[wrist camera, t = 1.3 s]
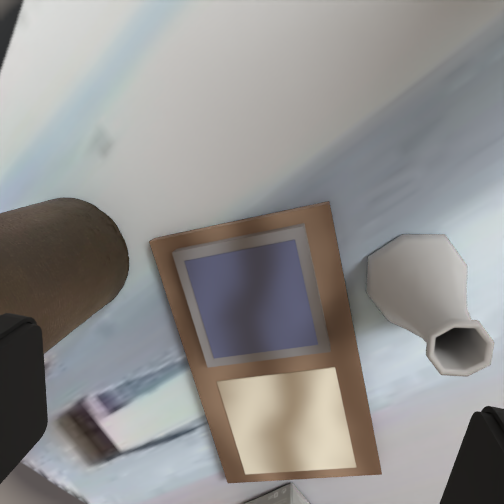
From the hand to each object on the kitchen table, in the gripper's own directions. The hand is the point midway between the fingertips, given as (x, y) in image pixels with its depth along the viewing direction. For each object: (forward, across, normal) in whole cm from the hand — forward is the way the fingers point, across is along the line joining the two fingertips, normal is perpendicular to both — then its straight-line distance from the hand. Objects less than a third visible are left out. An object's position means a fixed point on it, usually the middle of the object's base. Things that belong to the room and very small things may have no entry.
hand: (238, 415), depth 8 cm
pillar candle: (+22, +18, +6) cm, 29 cm away
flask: (+22, -10, +4) cm, 24 cm away
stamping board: (+22, 0, +13) cm, 25 cm away
